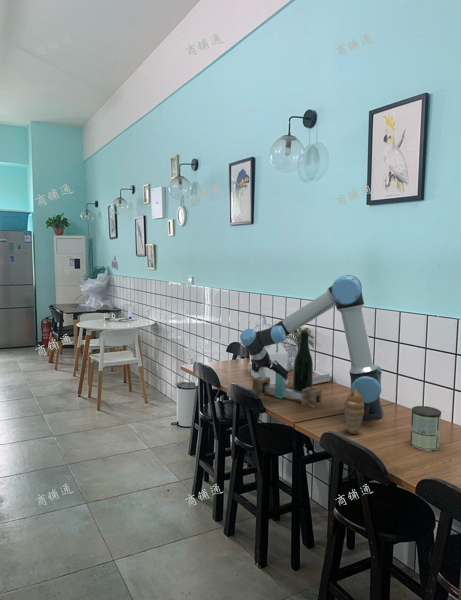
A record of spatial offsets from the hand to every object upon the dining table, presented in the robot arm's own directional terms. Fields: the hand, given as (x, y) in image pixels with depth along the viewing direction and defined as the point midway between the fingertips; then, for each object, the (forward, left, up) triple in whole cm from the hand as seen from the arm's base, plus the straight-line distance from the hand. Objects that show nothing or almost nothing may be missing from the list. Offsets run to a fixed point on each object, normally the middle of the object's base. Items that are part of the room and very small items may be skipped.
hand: (275, 379), depth 231 cm
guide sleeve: (-18, -4, -10) cm, 21 cm away
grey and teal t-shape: (-2, -4, -9) cm, 10 cm away
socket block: (+11, -4, -10) cm, 15 cm away
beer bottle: (-4, -22, -10) cm, 24 cm away
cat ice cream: (-49, +19, -10) cm, 53 cm away
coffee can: (-75, +13, -10) cm, 77 cm away
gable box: (+23, -31, -10) cm, 40 cm away
